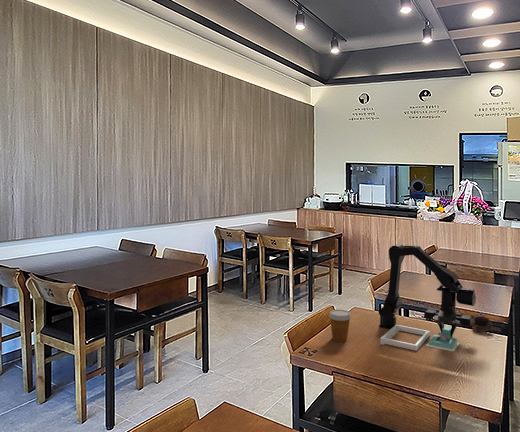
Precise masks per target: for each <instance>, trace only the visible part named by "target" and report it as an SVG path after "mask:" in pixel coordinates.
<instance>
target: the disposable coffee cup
mask: <svg viewBox="0 0 520 432" xmlns="http://www.w3.org/2000/svg"><path fill="white" fill-rule="evenodd" d="M328 316H329V320H330V328H331V338H332V340H333V341H335V342H341V343H342V342H346V341H347V339H348V335H349V326H350V319H351V318H352V315H351V313H350V311H348V310H345V309H332V310H330V311H329V314H328Z"/></svg>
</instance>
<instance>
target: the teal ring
mask: <svg viewBox="0 0 520 432" xmlns="http://www.w3.org/2000/svg"><path fill="white" fill-rule="evenodd" d="M451 328H452V325H451V326H450V325H447V324H446V325H445V324H444V328H443V329H442V333H443V334H448V335H449V336H448V337H446V342H449V343H445V342H441V341H438V340H440V335H438V334H434V335H432V337H431V338H430V339H431V340H429V341H428V342H429V344H430V345H434V346H439V347H444V348H448V349H453V347H454V346H455V344H456V343H457V342H458V338H456V337H452V338H451Z"/></svg>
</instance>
